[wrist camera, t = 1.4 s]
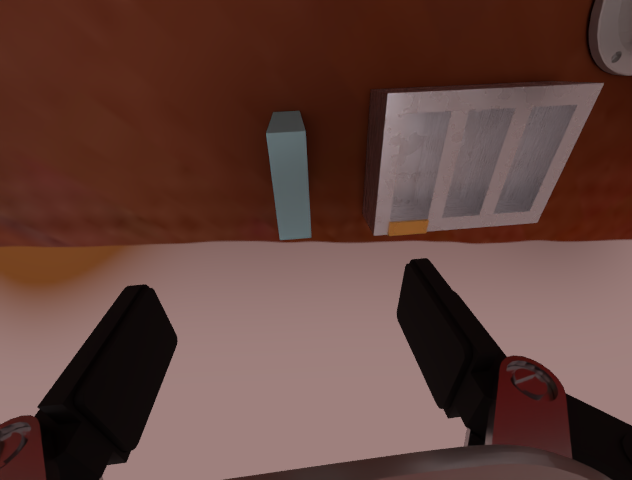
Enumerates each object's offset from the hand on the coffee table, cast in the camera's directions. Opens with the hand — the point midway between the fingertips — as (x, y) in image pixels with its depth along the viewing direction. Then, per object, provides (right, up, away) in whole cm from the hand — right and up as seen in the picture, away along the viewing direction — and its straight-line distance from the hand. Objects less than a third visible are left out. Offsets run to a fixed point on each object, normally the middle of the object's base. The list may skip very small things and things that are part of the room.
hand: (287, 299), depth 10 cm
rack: (+15, +12, +19) cm, 27 cm away
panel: (-2, +11, +17) cm, 21 cm away
